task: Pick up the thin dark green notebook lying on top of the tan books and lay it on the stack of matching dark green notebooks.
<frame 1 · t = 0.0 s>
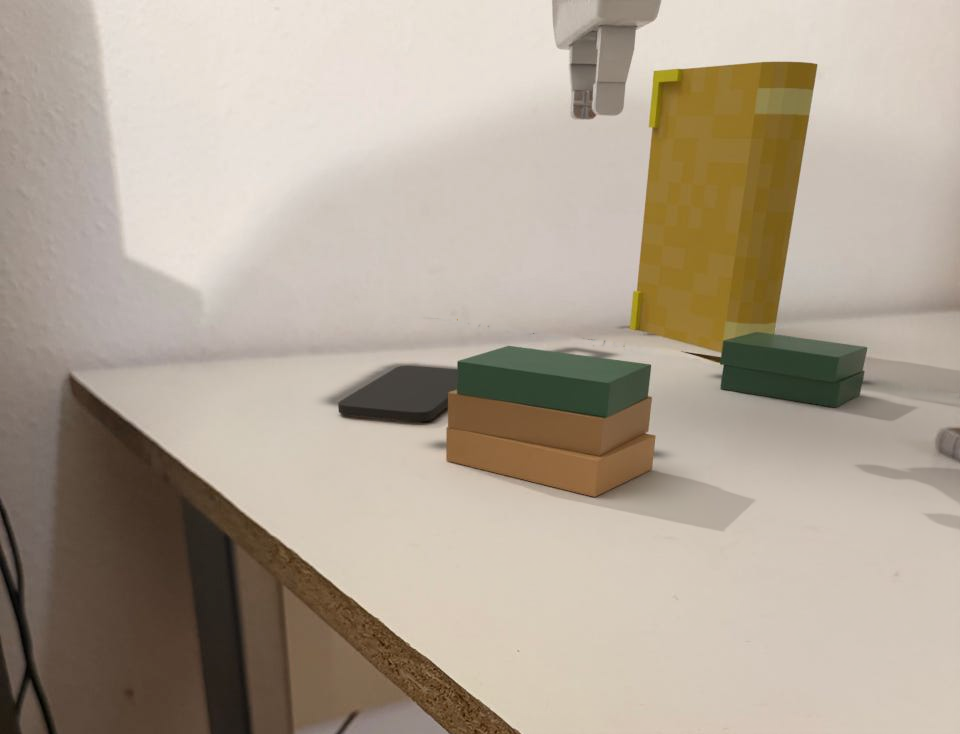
hand: (594, 117, 65), 20 cm above the table, tool pointing down, fingers open, 8 cm apart
coin fragment: (568, 374, 86), on the table
green stack: (789, 391, 82), on the table
phone: (412, 399, 76), on the table
tan stack: (548, 465, 60), on the table
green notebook: (552, 395, 58), point 4 cm above the table, touching tan stack
book: (702, 351, 98), on the table
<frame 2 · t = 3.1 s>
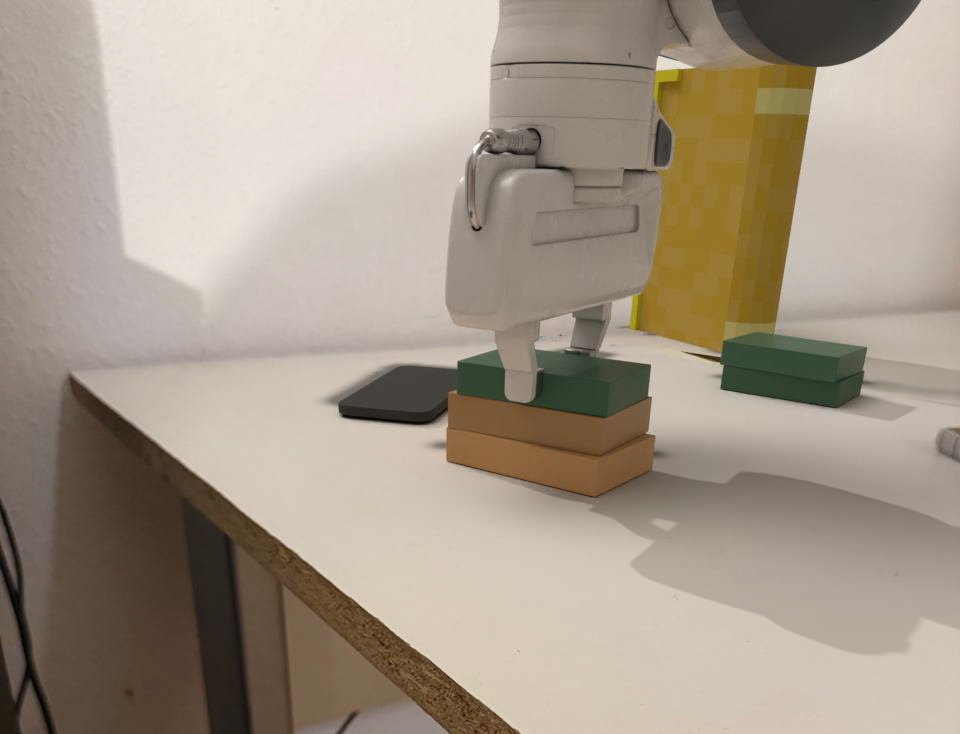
hand: (553, 387, 58), 5 cm above the table, tool pointing down, fingers closed on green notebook, 6 cm apart
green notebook: (552, 395, 58), point 4 cm above the table, touching gripper, tan stack
everything else where it was.
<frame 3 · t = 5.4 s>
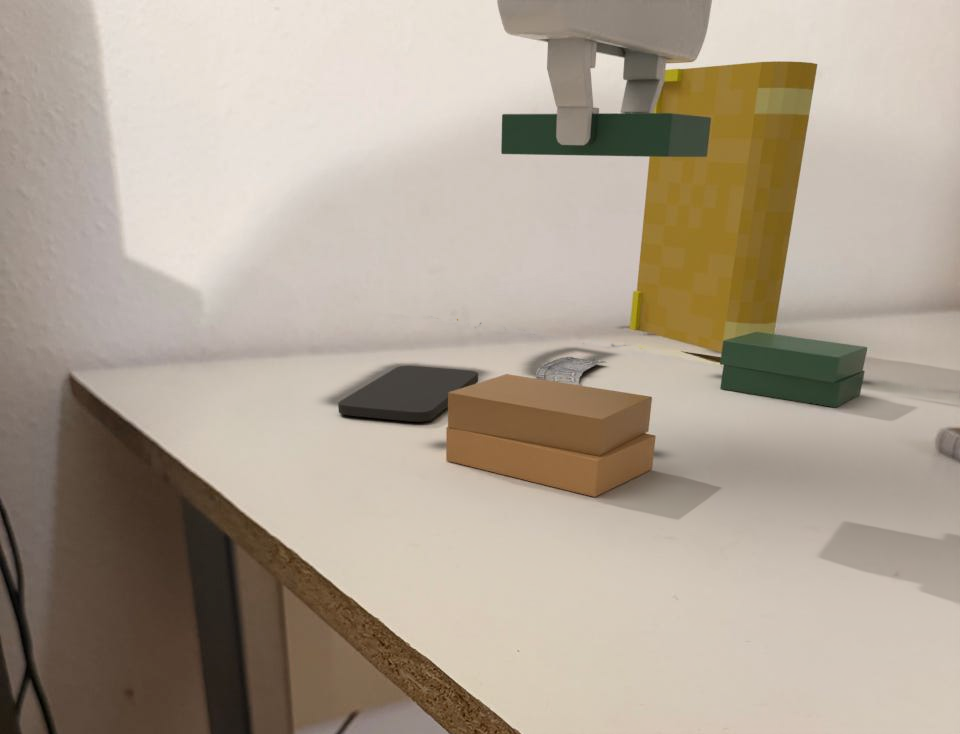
hand: (605, 146, 54), 18 cm above the table, tool pointing down, fingers closed on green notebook, 6 cm apart
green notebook: (604, 155, 54), point 18 cm above the table, touching gripper
everything else where it was.
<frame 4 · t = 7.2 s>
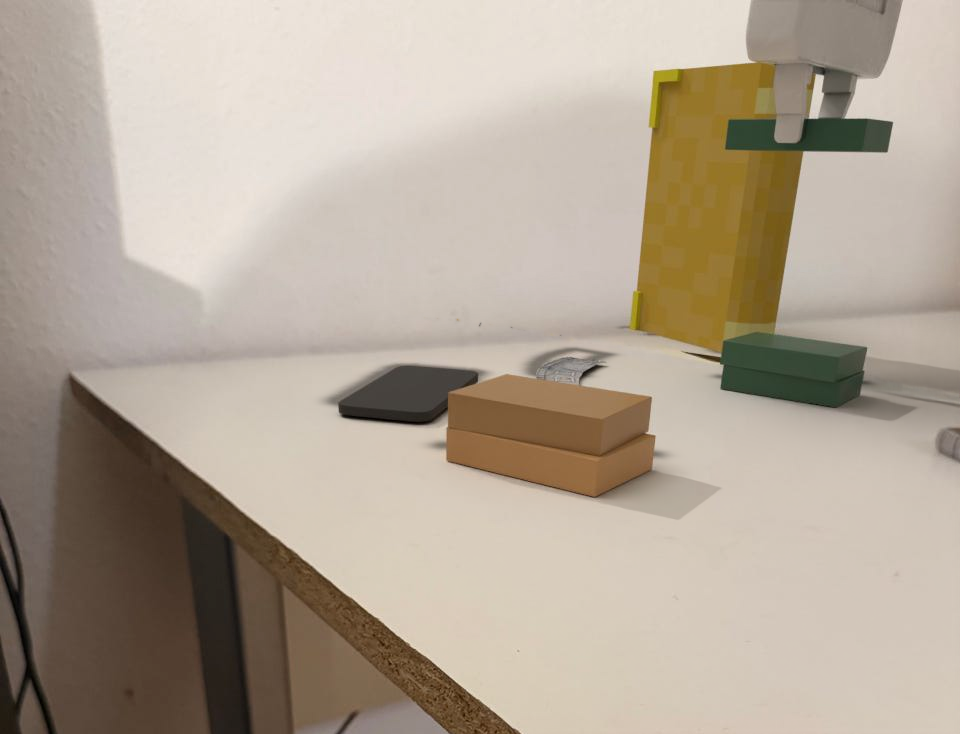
hand: (807, 144, 70), 19 cm above the table, tool pointing down, fingers closed on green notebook, 6 cm apart
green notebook: (805, 151, 70), point 18 cm above the table, touching gripper
everything else where it was.
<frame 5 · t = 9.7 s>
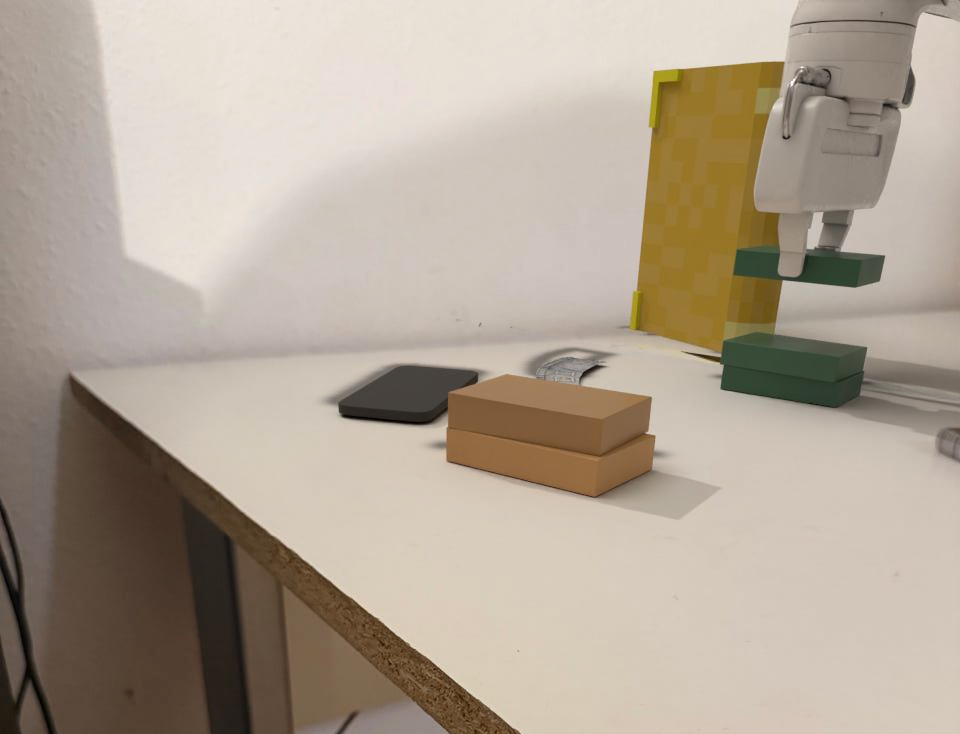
hand: (808, 272, 77), 10 cm above the table, tool pointing down, fingers closed on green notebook, 6 cm apart
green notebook: (806, 278, 77), point 9 cm above the table, touching gripper
everything else where it was.
when the fingers open (4 cm above the table, at t = 11.5 s): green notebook stays where it is, resting on green stack.
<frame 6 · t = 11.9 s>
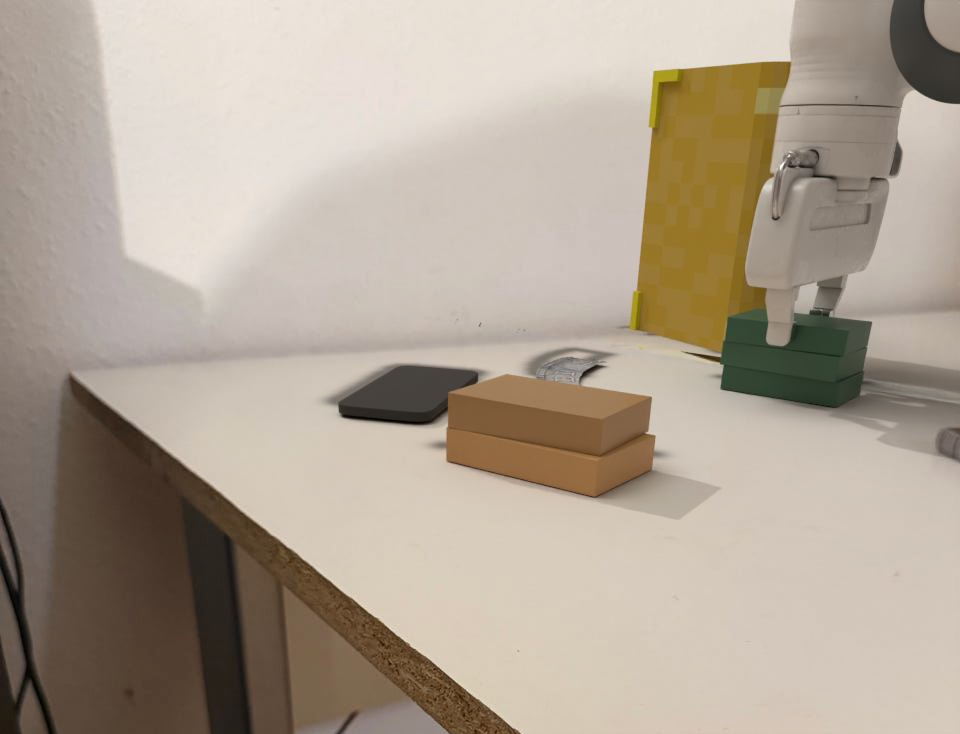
hand: (799, 337, 80), 5 cm above the table, tool pointing down, fingers open, 8 cm apart
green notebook: (795, 343, 80), point 4 cm above the table, touching green stack
everything else where it was.
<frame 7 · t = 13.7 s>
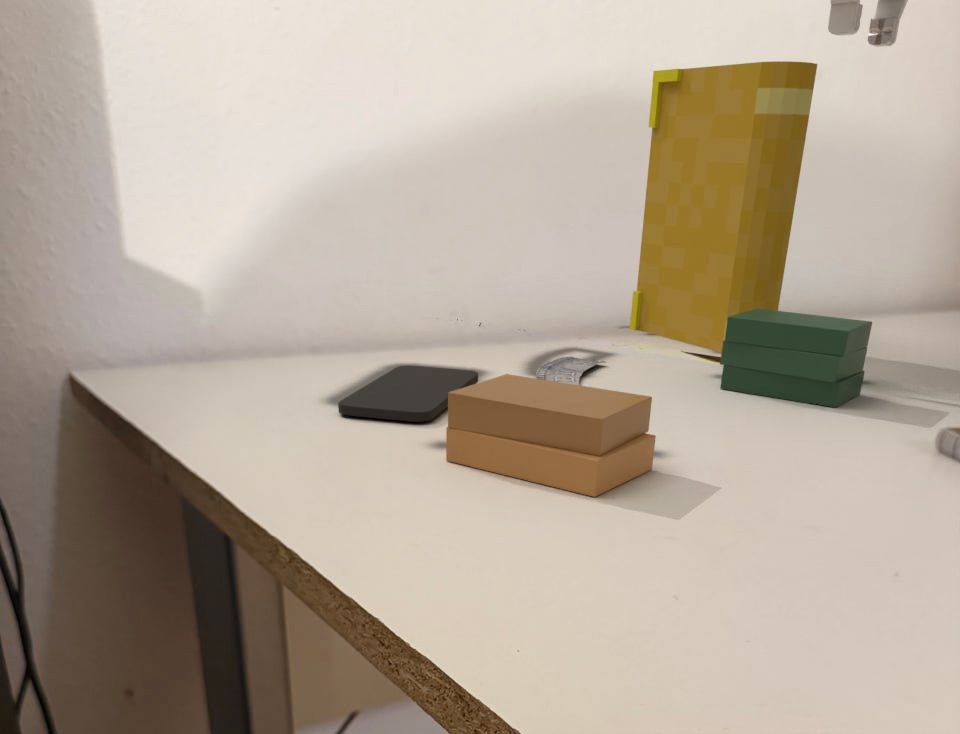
hand: (862, 40, 71), 26 cm above the table, tool pointing down, fingers open, 8 cm apart
nothing on the table moved.
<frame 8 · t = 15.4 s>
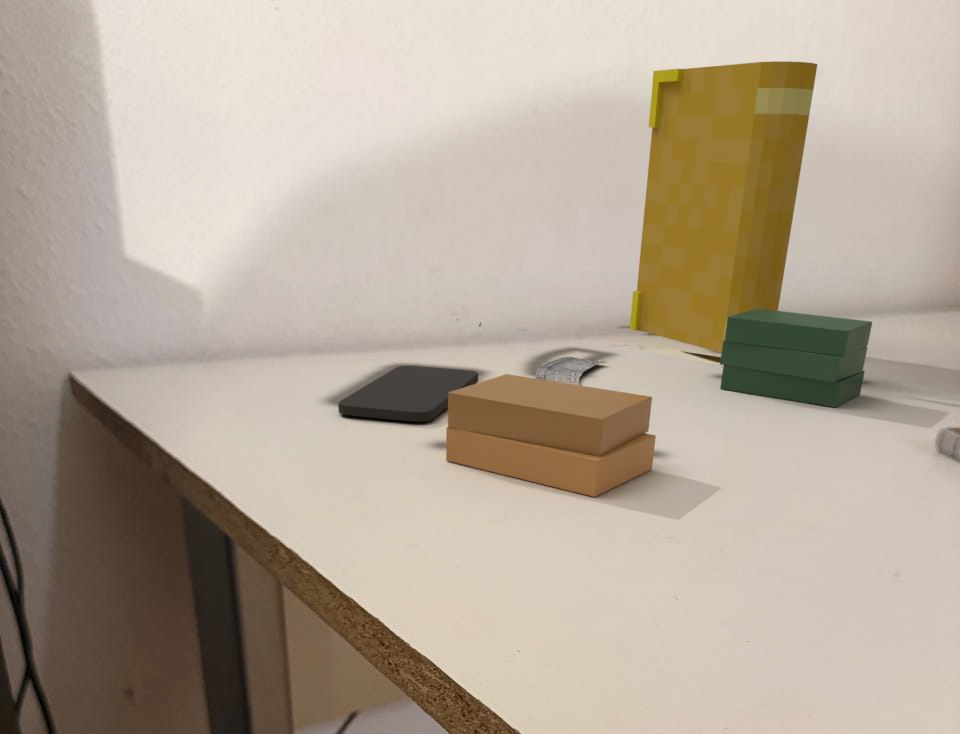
nothing on the table moved.
at the end: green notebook 0.2 cm off-centre on the green stack, point 4.0 cm above the green stack's base; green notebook tilted 0°; the gripper is holding nothing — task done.
